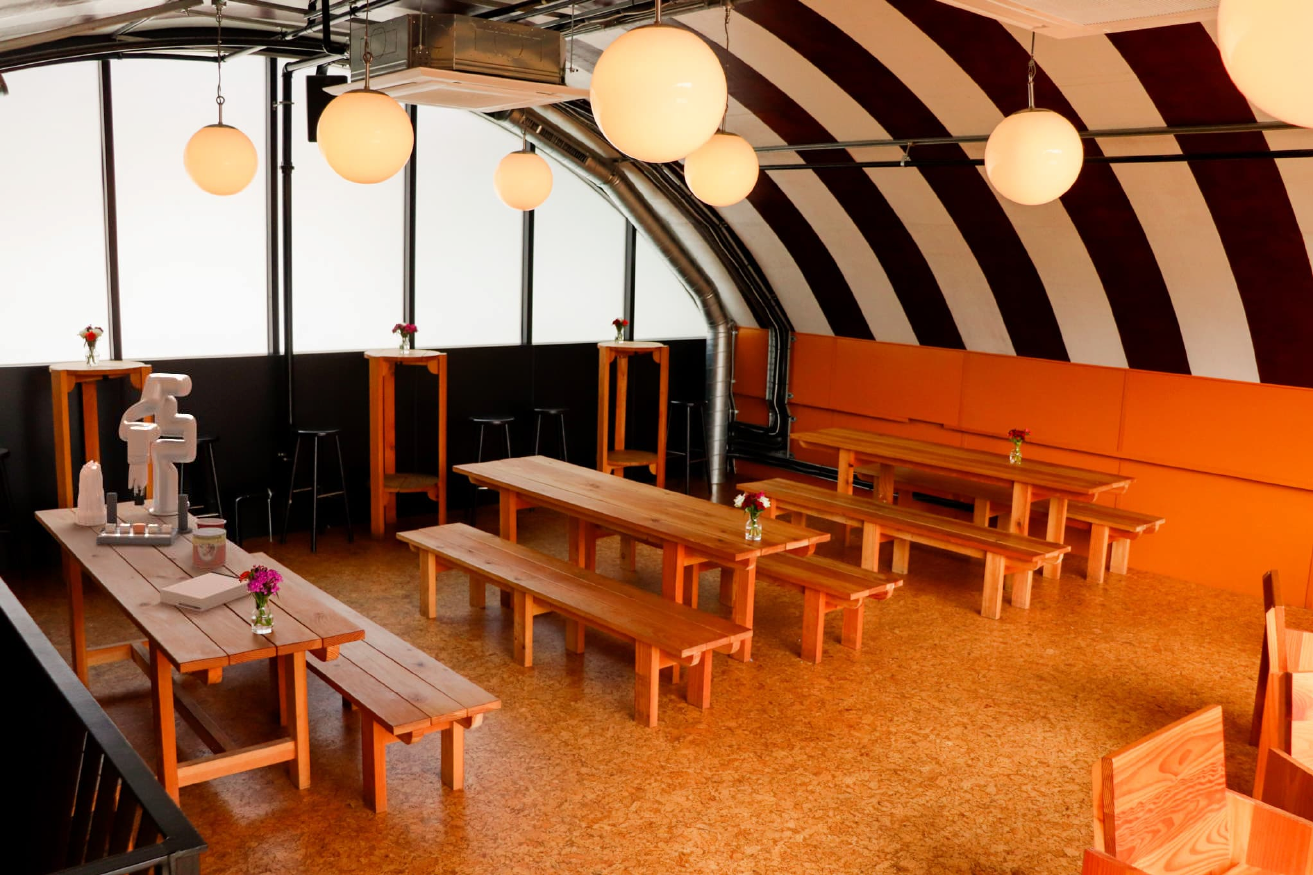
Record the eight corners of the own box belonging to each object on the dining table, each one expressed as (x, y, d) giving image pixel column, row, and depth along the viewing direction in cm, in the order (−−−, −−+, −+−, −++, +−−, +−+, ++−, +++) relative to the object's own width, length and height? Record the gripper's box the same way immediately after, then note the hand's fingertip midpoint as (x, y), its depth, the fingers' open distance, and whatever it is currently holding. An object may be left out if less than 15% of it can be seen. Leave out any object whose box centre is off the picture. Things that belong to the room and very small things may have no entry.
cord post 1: (118, 527, 416) (117, 490, 413) (124, 531, 411) (124, 494, 409) (99, 529, 411) (98, 492, 408) (105, 533, 406) (105, 496, 403)
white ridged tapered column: (96, 526, 414) (96, 465, 410) (70, 524, 414) (69, 463, 410) (111, 520, 425) (111, 460, 421) (85, 518, 425) (84, 458, 421)
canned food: (190, 567, 373) (190, 535, 371) (195, 558, 384) (195, 527, 382) (223, 567, 376) (224, 535, 374) (227, 558, 387) (228, 527, 385)
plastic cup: (231, 548, 400) (231, 517, 398) (216, 555, 390) (216, 524, 388) (204, 545, 401) (204, 515, 399) (189, 552, 390) (189, 521, 389)
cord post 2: (188, 528, 422) (188, 492, 419) (195, 532, 417) (195, 496, 414) (170, 530, 417) (170, 494, 414) (177, 534, 412) (177, 498, 409)
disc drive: (252, 594, 353) (252, 580, 352) (201, 613, 332) (201, 598, 331) (211, 585, 359) (212, 571, 358) (159, 602, 338) (159, 588, 337)
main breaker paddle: (134, 530, 401) (134, 523, 401) (145, 531, 402) (145, 523, 402) (132, 532, 399) (132, 524, 399) (144, 532, 400) (144, 524, 400)
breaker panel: (107, 534, 405) (107, 519, 404) (179, 535, 411) (179, 520, 410) (97, 544, 392) (96, 529, 391) (171, 545, 398) (171, 530, 397)
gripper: (133, 454, 402) (134, 499, 406) (122, 462, 388) (123, 510, 392) (154, 454, 404) (154, 500, 408) (144, 463, 390) (145, 510, 393)
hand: (139, 505), depth 400 cm, fingers closed
